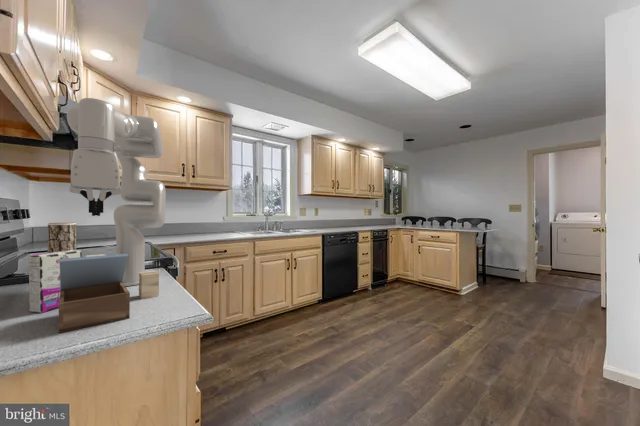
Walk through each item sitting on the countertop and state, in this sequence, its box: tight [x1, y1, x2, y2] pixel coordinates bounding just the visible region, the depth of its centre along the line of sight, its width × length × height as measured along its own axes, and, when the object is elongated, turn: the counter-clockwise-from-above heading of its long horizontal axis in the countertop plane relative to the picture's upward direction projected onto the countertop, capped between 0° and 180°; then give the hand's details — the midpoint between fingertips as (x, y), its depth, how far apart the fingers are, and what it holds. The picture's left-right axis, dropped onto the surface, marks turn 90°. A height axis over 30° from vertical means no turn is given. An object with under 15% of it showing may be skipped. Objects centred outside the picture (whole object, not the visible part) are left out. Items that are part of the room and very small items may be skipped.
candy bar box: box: [28, 249, 83, 314], centre depth 82 cm, size 11×5×16 cm, turn 168°
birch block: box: [138, 270, 160, 300], centre depth 94 cm, size 5×5×8 cm
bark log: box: [47, 222, 77, 253], centre depth 89 cm, size 7×7×25 cm
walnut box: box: [58, 282, 131, 334], centre depth 75 cm, size 15×14×7 cm
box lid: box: [60, 253, 128, 290], centre depth 77 cm, size 15×14×1 cm
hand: (96, 215), depth 73 cm, fingers closed
